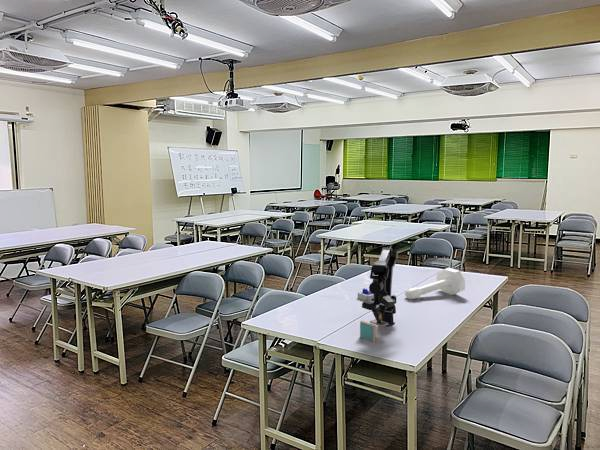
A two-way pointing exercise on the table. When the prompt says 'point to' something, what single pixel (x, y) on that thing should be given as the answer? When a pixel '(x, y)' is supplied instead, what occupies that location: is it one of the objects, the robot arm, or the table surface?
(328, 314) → the table surface
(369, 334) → the tile
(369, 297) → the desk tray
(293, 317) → the table surface
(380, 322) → the float
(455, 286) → the white mallet
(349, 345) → the table surface
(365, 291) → the cable clip
